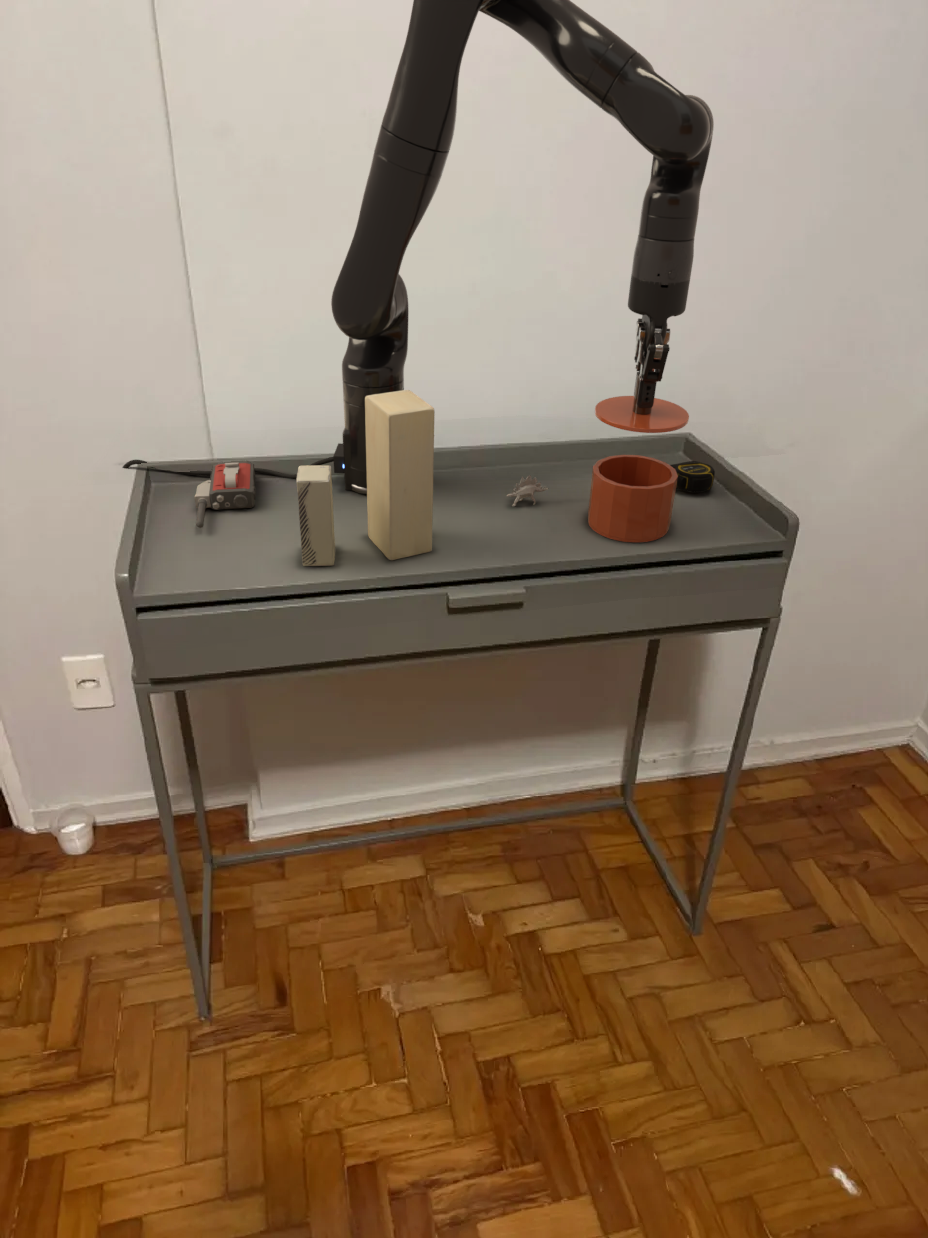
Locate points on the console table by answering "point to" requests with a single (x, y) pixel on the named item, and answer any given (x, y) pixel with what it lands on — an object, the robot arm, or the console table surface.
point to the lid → (641, 414)
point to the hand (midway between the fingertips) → (643, 402)
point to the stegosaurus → (526, 489)
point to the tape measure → (694, 476)
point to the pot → (631, 498)
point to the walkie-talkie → (226, 488)
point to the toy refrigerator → (399, 472)
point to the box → (316, 515)
